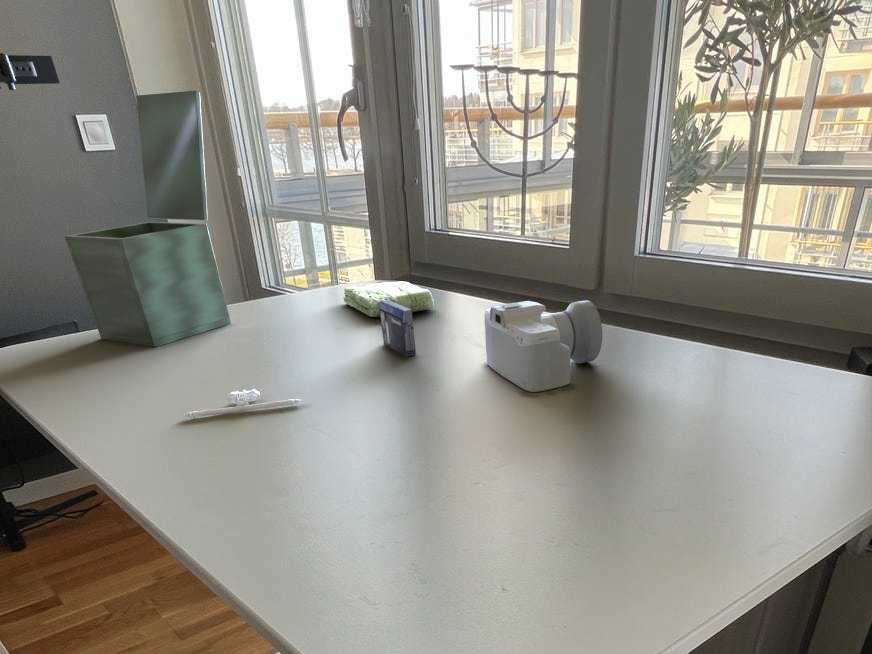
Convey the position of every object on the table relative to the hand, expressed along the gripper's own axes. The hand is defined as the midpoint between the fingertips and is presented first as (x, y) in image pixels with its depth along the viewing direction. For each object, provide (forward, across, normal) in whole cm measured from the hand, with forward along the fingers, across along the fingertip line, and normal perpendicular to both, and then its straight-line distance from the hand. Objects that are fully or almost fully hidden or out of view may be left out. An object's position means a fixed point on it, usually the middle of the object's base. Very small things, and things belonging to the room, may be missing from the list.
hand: (23, 73), depth 91 cm
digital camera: (+15, +70, -34) cm, 79 cm away
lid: (+19, 0, -11) cm, 22 cm away
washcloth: (+38, +26, -34) cm, 57 cm away
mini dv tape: (+16, +45, -34) cm, 59 cm away
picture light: (-12, +42, -34) cm, 56 cm away
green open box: (+10, 0, -34) cm, 36 cm away
